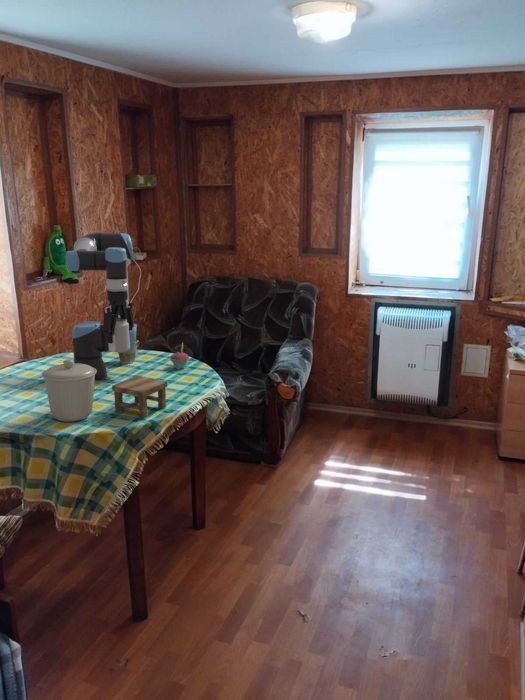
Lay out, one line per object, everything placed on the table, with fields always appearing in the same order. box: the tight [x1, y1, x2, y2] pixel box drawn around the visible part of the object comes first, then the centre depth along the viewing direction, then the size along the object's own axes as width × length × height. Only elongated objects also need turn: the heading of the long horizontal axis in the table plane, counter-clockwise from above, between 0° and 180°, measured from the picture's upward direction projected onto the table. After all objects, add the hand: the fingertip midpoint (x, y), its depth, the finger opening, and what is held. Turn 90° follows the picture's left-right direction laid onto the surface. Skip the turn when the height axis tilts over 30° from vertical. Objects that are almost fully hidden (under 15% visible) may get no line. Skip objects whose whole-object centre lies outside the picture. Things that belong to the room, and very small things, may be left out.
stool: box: [111, 375, 168, 419], centre depth 212 cm, size 14×14×10 cm
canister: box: [41, 358, 97, 423], centre depth 202 cm, size 18×18×21 cm
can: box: [110, 319, 130, 353], centre depth 221 cm, size 8×8×12 cm
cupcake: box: [169, 342, 190, 369], centre depth 265 cm, size 9×8×12 cm
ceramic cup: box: [117, 339, 140, 365], centre depth 273 cm, size 13×10×10 cm
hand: (119, 348), depth 222 cm, fingers closed on can, 7 cm apart
